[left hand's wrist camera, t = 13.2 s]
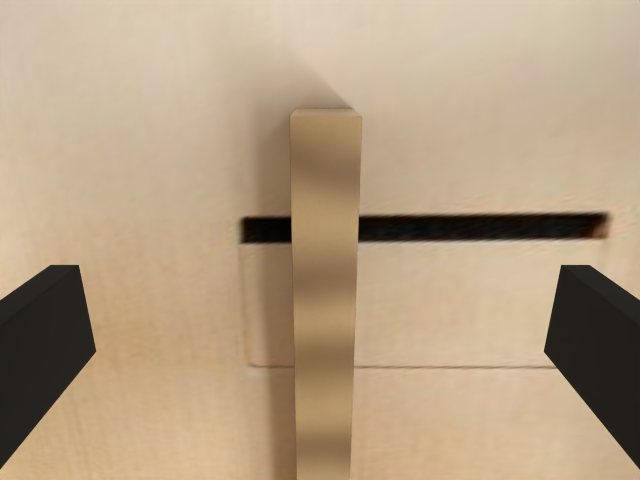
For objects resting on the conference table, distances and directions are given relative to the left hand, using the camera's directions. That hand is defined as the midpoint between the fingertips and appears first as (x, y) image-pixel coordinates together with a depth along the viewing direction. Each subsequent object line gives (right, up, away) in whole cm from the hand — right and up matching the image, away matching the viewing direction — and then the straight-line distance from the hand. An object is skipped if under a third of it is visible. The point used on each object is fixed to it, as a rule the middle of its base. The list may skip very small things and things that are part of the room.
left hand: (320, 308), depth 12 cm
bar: (0, -13, +32) cm, 35 cm away
